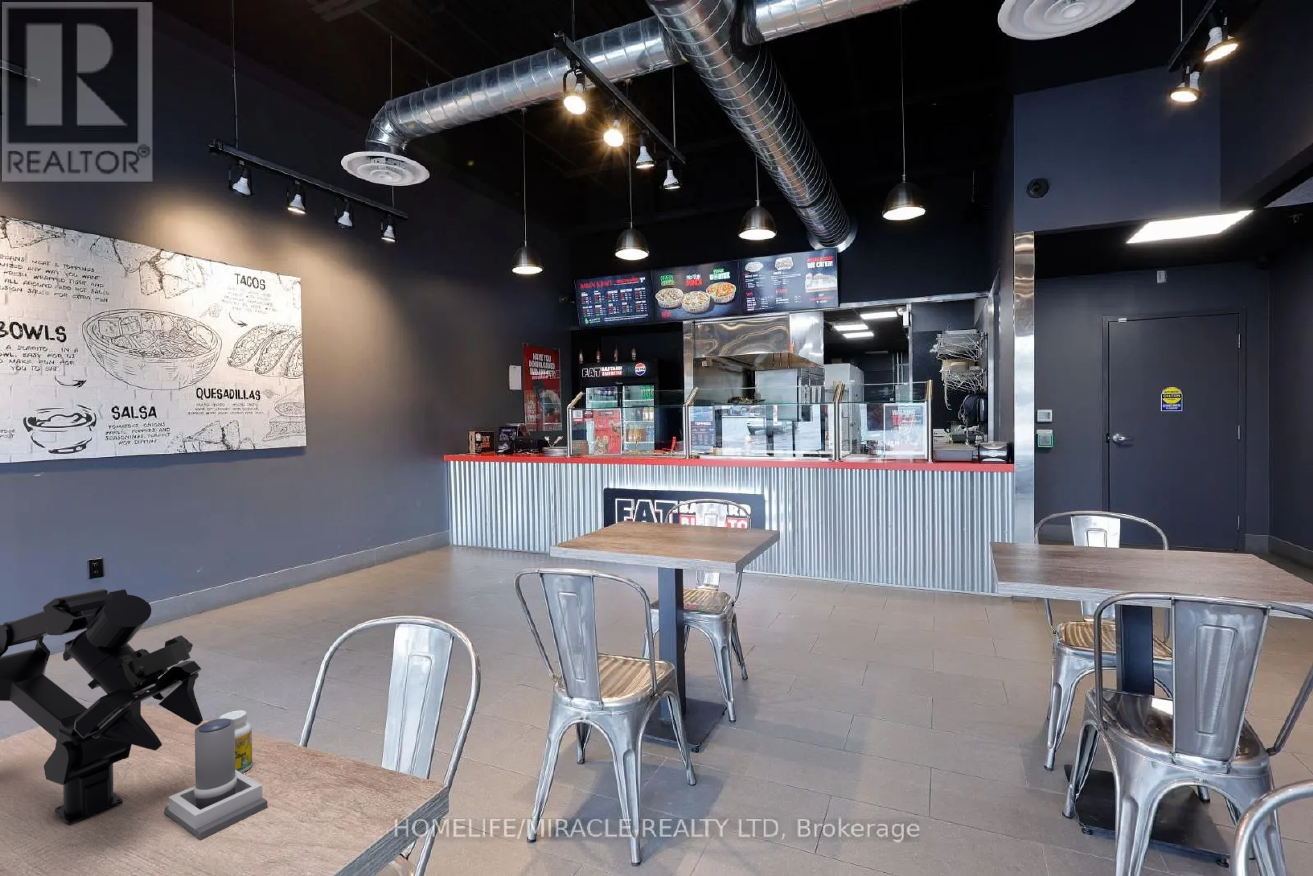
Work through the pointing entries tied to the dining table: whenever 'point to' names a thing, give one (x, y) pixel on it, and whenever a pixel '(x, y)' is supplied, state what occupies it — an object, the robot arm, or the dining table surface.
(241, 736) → the supplement bottle
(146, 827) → the dining table surface
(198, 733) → the lens
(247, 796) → the grey white tray
